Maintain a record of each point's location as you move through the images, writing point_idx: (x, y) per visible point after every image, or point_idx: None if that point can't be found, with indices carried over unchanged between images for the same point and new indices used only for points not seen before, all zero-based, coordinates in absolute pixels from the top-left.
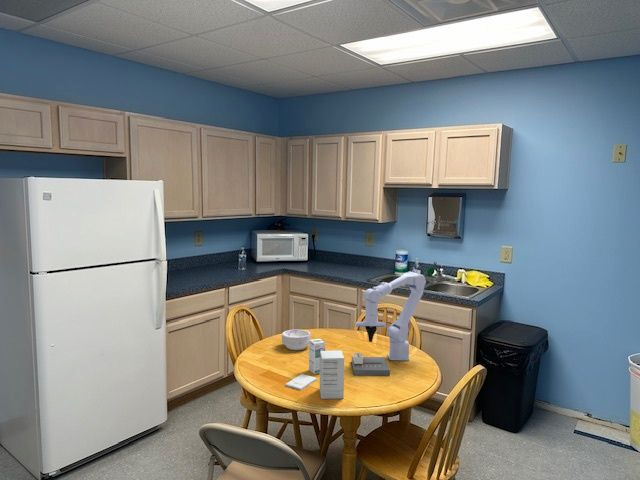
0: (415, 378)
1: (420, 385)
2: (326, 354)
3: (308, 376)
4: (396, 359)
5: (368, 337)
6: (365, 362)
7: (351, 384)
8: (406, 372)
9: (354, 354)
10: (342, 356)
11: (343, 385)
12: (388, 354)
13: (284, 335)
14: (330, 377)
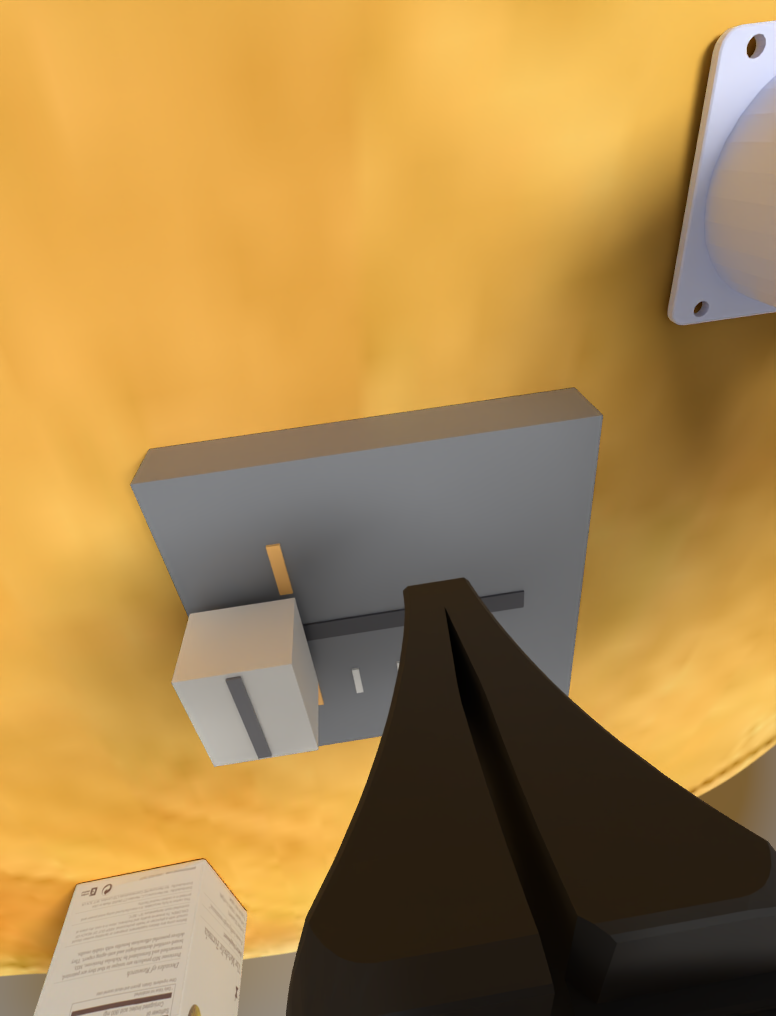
0: (737, 666)
1: (718, 738)
2: None
3: None
4: (762, 311)
5: (404, 645)
6: (341, 610)
7: (260, 812)
8: (717, 589)
9: (194, 710)
10: None
11: (237, 1004)
12: (728, 82)
13: None
14: None
